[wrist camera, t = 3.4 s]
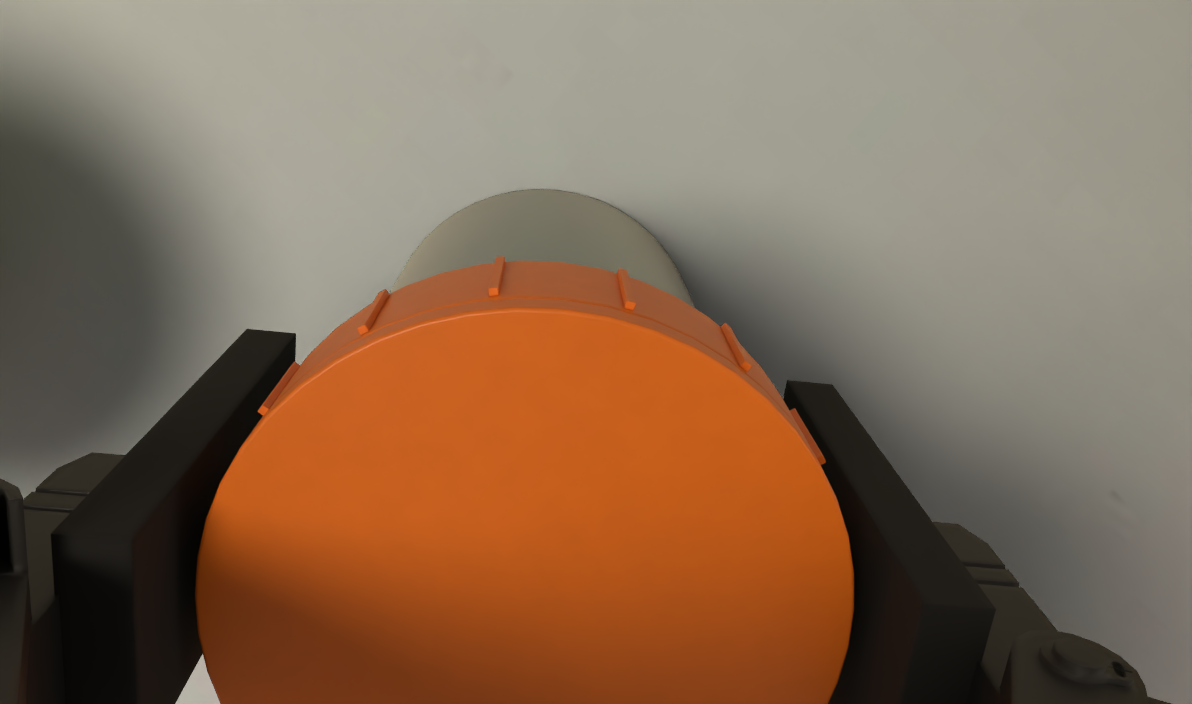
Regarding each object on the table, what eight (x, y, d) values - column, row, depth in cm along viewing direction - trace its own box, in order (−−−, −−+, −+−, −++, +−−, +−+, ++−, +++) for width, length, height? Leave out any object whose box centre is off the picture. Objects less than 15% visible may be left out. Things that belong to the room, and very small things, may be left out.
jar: (522, 532, 23) (498, 896, 13) (322, 319, 21) (137, 568, 12) (754, 361, 22) (902, 628, 12) (563, 122, 20) (571, 223, 11)
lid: (500, 847, 15) (492, 973, 13) (124, 499, 13) (47, 586, 11) (919, 564, 14) (980, 657, 12) (575, 129, 12) (578, 155, 10)
